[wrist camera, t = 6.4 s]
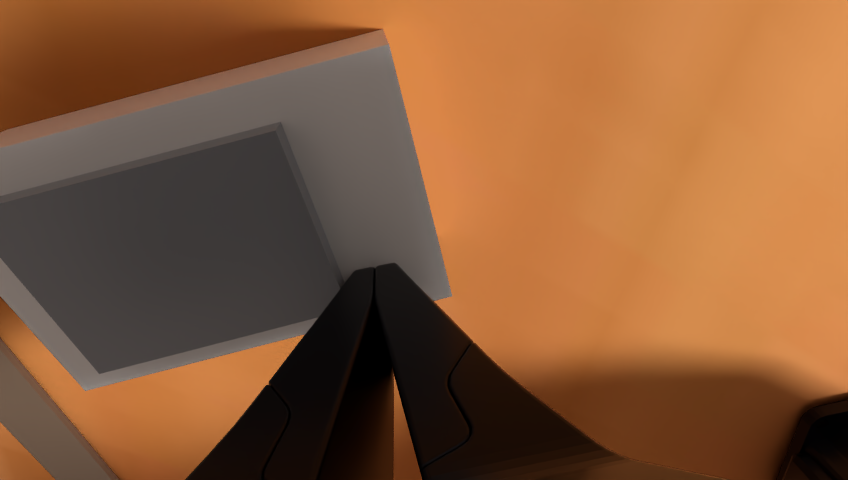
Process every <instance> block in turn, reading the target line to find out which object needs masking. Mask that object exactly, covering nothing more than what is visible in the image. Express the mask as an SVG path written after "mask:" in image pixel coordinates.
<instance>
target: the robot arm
mask: <svg viewBox="0 0 848 480" xmlns="http://www.w3.org/2000/svg"><path fill="white" fill-rule="evenodd" d="M394 376H395V380H396V384H397V387H398V391H399V395H400V398H401V402H402V406H403V410H404V413H405V417H406V421H407V424H408V428H409V432H410V435H411V439H412V443H413V447H414V450H415V454H416V458H417V461H418V465H419V469H420V473H421V476H422V480H729V479H724V478H719V477H714V476H709V475H705V474H700V473H695V472H690V471H685V470H681V469H676V468H671V467H666V466H661V465H657V464H652V463H647V462H642V461H638V460H634V459H630V458H627V457H625V456H622V455H620V454H618V453H616V452H614V451H612V450H610V449H608V448H606V447H604V446H603V445H601V444H599V443H598V442H596V441H595V440H593V439H592V438H591V437H589V436H588V435H586V434H585V433H584V432H582V431H581V430H580V429H578V428H577V427H576V426H575V425H573V424H572V423H571V422H569V421H568V420H567V419H565V418H564V417H563V416H561V415H560V414H559V413H557V412H556V411H555V410H553V409H552V408H551V407H549V406H548V405H547V404H545V403H544V402H543V401H541V400H540V399H539V398H538V397H536V396H535V395H534V394H532V393H531V392H530V391H528V390H527V389H526V388H524V387H523V386H522V385H521V384H519V383H518V382H517V381H516V380H515V379H513V378H512V377H511V376H510V375H508V374H507V373H506V372H505V371H504V370H502V369H501V368H500V367H499V366H498V365H497V364H496V363H495V362H494V361H493V360H492V359H491V358H490V357H489V356H487V355H486V354H485V353H484V352H483V350H482V349H481V348H480V347H479V346H478V345H477V344H476V343H473V341H472V340H471V339H470V338H469V337H468V336H467V335H466V333H465V332H464V331H463V330H462V329H461V328H460V327H459V326H458V325H457V324H456V323H455V322H454V321H453V320H452V319H451V318H450V317H449V316H448V315H447V314H446V313H445V312H444V311H443V310H442V309H441V308H440V307H439V306H438V305H437V304H436V303H435V302H434V301H433V300H432V299H431V298H430V297H429V296H428V295H427V294H426V293H425V292H424V291H423V290H422V289H421V288H420V287H419V286H418V285H417V284H416V283H415V282H414V281H413V280H412V279H411V278H410V277H409V276H408V275H407V274H406V273H405V272H404V271H403V270H402V268H401V267H400V266H399V265H398V264H396V263H388V264H383V265H378V266H377V267H376V269H375V268H374V267H368V268H363V269H358V270H355V271H354V272H353V273H352V274H351V275H350V277H349V278H348V279H347V281H346V282H345V283H344V285H343V286H342V287H341V288H340V290H339V291H338V292H337V294H336V295H335V296H334V298H333V299H332V300H331V301H330V303H329V304H328V305H327V307H326V308H325V309H324V311H323V312H322V313H321V314H320V316H319V317H318V318H317V320H316V321H315V322H314V324H313V325H312V326H311V327H310V329H309V330H308V331H307V333H306V334H305V335H304V337H303V338H302V339H301V341H300V342H299V343H298V344H297V346H296V347H295V348H294V350H293V351H292V352H291V354H290V355H289V356H288V357H287V359H286V360H285V361H284V363H283V364H282V365H281V367H280V368H279V369H278V370H277V372H276V373H275V374H274V376H273V377H272V378H271V380H270V381H269V385H266V386H265V387H264V388H263V390H262V391H261V392H260V394H259V395H258V396H257V398H256V399H255V400H254V401H253V403H252V404H251V405H250V406H249V408H248V409H247V410H246V411H245V413H244V414H243V415H242V416H241V417H240V419H239V420H238V421H237V422H236V424H235V425H234V426H233V427H232V428H231V429H230V431H229V432H228V433H227V434H226V435H225V436H224V437H223V439H222V440H221V441H220V442H219V443H218V444H217V445H216V446H215V448H214V449H213V450H212V451H211V452H210V453H209V454H208V455H207V457H206V458H205V459H204V460H203V461H202V462H201V463H200V464H199V465H198V466H197V467H196V468H195V470H194V471H193V472H192V473H191V474H190V475H189V476H188V477H187V478H186V479H185V480H393V461H394ZM777 480H848V400H847V401H842V402H837V403H833V404H828V405H823V406H818V407H815V408H812V409H810V410H808V411H807V412H806V413H805V414H804V415H803V416H802V418H801V420H800V422H799V425H798V427H797V430H796V432H795V435H794V437H793V440H792V442H791V445H790V447H789V450H788V452H787V455H786V457H785V460H784V462H783V465H782V467H781V470H780V472H779V475H778V477H777Z"/></svg>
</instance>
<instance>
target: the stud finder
mask: <svg viewBox="0 0 848 480" xmlns="http://www.w3.org/2000/svg"><path fill="white" fill-rule="evenodd" d="M388 263H396V264H398V265H399V266H400V267H401V268H402V270H403V271H404V272H405V273H406V274H407V275H408V276H409V277H410V278H411V279H412V280H413V281H414V282H415V283H416V284H417V285H418V286H419V287H420V288H421V289H422V290H423V291H424V292H425V293H426V294H427V295H428V296H429V297H430V298H431V299H432V300H433V301H435V300H439V299H443V298H447V297H451V296H452V294H451V290H450V286H449V282H448V278H447V274H446V270H445V266H444V262H443V258H442V254H441V250H440V246H439V242H438V238H437V234H436V230H435V226H434V222H433V218H432V214H431V210H430V206H429V202H428V198H427V194H426V190H425V186H424V182H423V178H422V174H421V170H420V166H419V162H418V158H417V154H416V150H415V146H414V142H413V138H412V134H411V130H410V126H409V122H408V118H407V114H406V110H405V106H404V102H403V98H402V94H401V90H400V86H399V82H398V79H397V75H396V71H395V67H394V63H393V59H392V55H391V51H390V47H389V43H388V41H387V38H386V36H385V33H384V31H383V29H381V30H377V31H373V32H369V33H366V34H362V35H358V36H354V37H351V38H347V39H343V40H339V41H336V42H332V43H328V44H324V45H321V46H317V47H313V48H310V49H306V50H302V51H298V52H295V53H291V54H287V55H283V56H280V57H276V58H272V59H268V60H265V61H261V62H257V63H253V64H250V65H246V66H242V67H239V68H235V69H231V70H227V71H224V72H220V73H216V74H212V75H209V76H205V77H201V78H197V79H194V80H190V81H186V82H182V83H179V84H175V85H171V86H168V87H164V88H160V89H156V90H153V91H149V92H145V93H141V94H138V95H134V96H130V97H126V98H123V99H119V100H115V101H111V102H108V103H104V104H100V105H97V106H93V107H89V108H85V109H82V110H78V111H74V112H70V113H67V114H63V115H59V116H55V117H52V118H48V119H44V120H40V121H37V122H33V123H29V124H26V125H22V126H18V127H14V128H11V129H7V130H5V131H2V132H0V297H1V298H2V299H3V300H4V301H5V302H6V303H7V304H8V305H9V307H10V308H11V309H12V310H13V311H14V312H15V313H16V314H17V315H18V317H19V318H20V319H21V320H22V321H23V322H24V323H25V324H26V325H27V327H28V328H29V329H30V330H31V331H32V332H33V333H34V334H35V335H36V337H37V338H38V339H39V340H40V341H41V342H42V343H43V344H44V345H45V347H46V348H47V349H48V350H49V351H50V352H51V353H52V354H53V355H54V357H55V358H56V359H57V360H58V361H59V362H60V363H61V364H62V365H63V367H64V368H65V369H66V370H67V371H68V372H69V373H70V374H71V375H72V377H73V378H74V379H75V380H76V381H77V382H78V383H79V384H80V385H81V387H82V388H83V389H84V390H85V391H87V390H90V389H94V388H98V387H102V386H106V385H110V384H114V383H118V382H121V381H125V380H129V379H133V378H137V377H141V376H145V375H149V374H152V373H156V372H160V371H164V370H168V369H172V368H176V367H180V366H183V365H187V364H191V363H195V362H199V361H203V360H207V359H211V358H214V357H218V356H222V355H226V354H230V353H234V352H238V351H242V350H245V349H249V348H253V347H257V346H261V345H265V344H269V343H273V342H276V341H280V340H284V339H288V338H292V337H296V336H300V335H304V334H306V333H307V331H308V330H309V329H310V327H311V326H312V325H313V324H314V322H315V321H316V320H317V318H318V317H319V316H320V314H321V313H322V312H323V311H324V309H325V308H326V307H327V305H328V304H329V303H330V301H331V300H332V299H333V298H334V296H335V295H336V294H337V292H338V291H339V290H340V288H341V287H342V286H343V285H344V283H345V282H346V281H347V279H348V278H349V277H350V275H351V274H352V273H353V272H354V271H355V270H358V269H363V268H368V267H374V268H375V269H376V267H377V266H378V265H383V264H388Z"/></svg>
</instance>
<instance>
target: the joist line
mask: <svg viewBox="0 0 848 480" xmlns="http://www.w3.org/2000/svg"><path fill="white" fill-rule="evenodd" d="M0 422H1V423H2V424H3V425H4V426H5V427H6V428H7V429H8V431H9V432H10V433H11V434H12V435H13V436H14V437H15V438H16V439H17V440H18V441H19V442H20V443H21V444H22V445H23V446H24V447H25V448H26V449H27V450H28V451H29V452H30V453H31V454H32V455H33V457H34V458H35V459H36V460H37V461H38V462H39V463H40V464H41V465H42V466H43V467H44V468H45V469H46V470H47V471H48V472H49V473H50V474H51V475H52V476H53V477H54V478H55V479H56V480H119V479H118V477H117V476H116V475H115V474H114V473H113V471H112V470H111V469H110V468H109V467H108V466H107V464H106V463H105V462H104V461H103V460H102V458H101V457H100V456H99V455H98V454H97V452H96V451H95V450H94V449H93V448H92V447H91V445H90V444H89V443H88V442H87V441H86V439H85V438H84V437H83V436H82V435H81V433H80V432H79V431H78V430H77V429H76V428H75V426H74V425H73V424H72V423H71V422H70V420H69V419H68V418H67V417H66V416H65V414H64V413H63V412H62V411H61V410H60V409H59V407H58V406H57V405H56V404H55V403H54V401H53V400H52V399H51V398H50V397H49V395H48V394H47V393H46V392H45V391H44V390H43V388H42V387H41V386H40V385H39V384H38V382H37V381H36V380H35V379H34V378H33V376H32V375H31V374H30V373H29V372H28V371H27V369H26V368H25V367H24V366H23V365H22V363H21V362H20V361H19V360H18V359H17V357H16V356H15V355H14V354H13V353H12V352H11V350H10V349H9V348H8V347H7V346H6V344H5V343H4V342H3V341H2V340H1V338H0Z"/></svg>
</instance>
